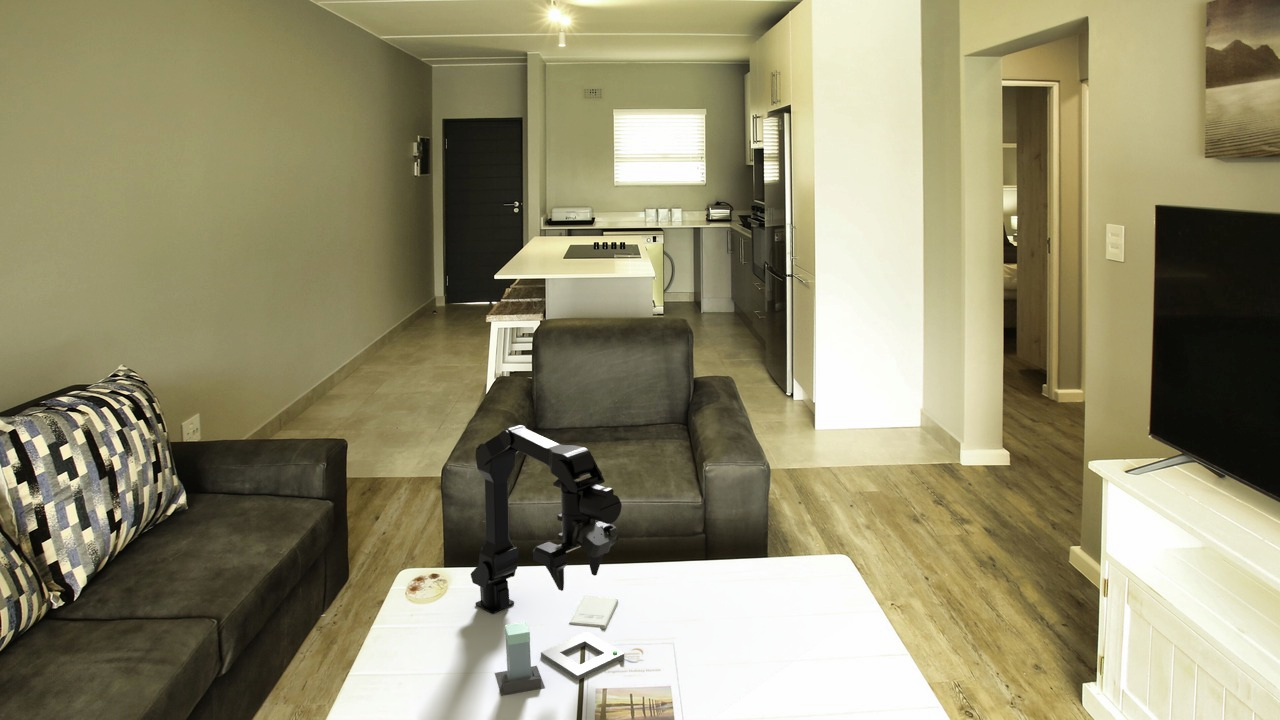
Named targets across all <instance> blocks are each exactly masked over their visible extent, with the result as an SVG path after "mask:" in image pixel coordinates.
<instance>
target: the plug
mask: <svg viewBox="0 0 1280 720" xmlns="http://www.w3.org/2000/svg"><path fill="white" fill-rule="evenodd" d="M530 633H531V632H530V629H529V627H528V624H527V622H526V621H523V622H522V621H521V622H517V623H509V624H505V625H504V634H505V648H506V649H505V651H506V669H507V670H506V671H507V674H508V679H509V681H511V680H516V679H522V678H528V677H531V667H532V663H531V662H532V659H531V658H532V657H531V634H530Z"/></svg>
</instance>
